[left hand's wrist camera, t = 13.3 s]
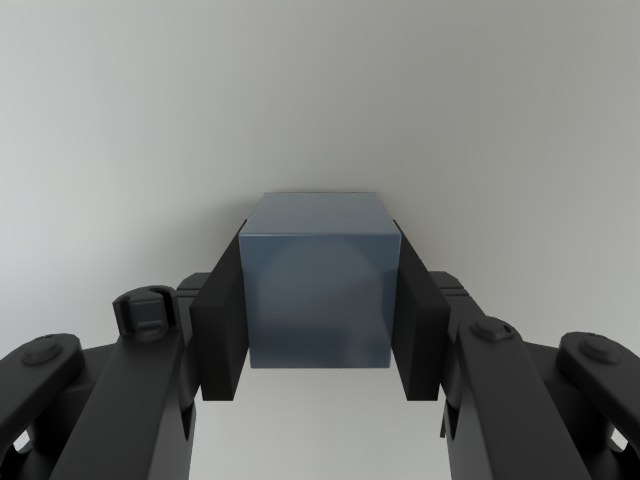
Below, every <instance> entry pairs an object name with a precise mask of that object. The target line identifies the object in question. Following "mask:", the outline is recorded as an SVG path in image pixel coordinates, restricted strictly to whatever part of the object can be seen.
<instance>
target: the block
mask: <svg viewBox="0 0 640 480" xmlns="http://www.w3.org/2000/svg"><path fill="white" fill-rule="evenodd" d="M400 245H401V233H400V231H399V229H398V228H397V226H396V225H395V223H394V221H393V220H392V218H391V217H390V215H389V213H388V212H387V210H386V209H385V207H384V205H383V204H382V202H381V200H380V199H379V197H378V196H377V194H376V193H264V194H263V196H262V197H261V199H260V201H259V202H258V204H257V206H256V207H255V209H254V210H253V212H252V214H251V215H250V217H249V218H248V220H247V222H246V223H245V225H244V226H243V228H242V230H241V231H240V233H239V246H240V257H241V267H242V276H243V287H244V299H245V310H246V321H247V332H248V343H249V356H250V366H251V368H390V361H391V349H392V336H393V324H394V313H395V301H396V290H397V278H398V267H399V256H400Z"/></svg>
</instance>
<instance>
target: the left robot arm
mask: <svg viewBox="0 0 640 480" xmlns="http://www.w3.org/2000/svg"><path fill="white" fill-rule="evenodd" d="M393 221H394V223H395V225H396V226H397V228H398V229H399V231H400V233H401V245H400V256H399V267H398V278H397V290H396V301H395V313H394V324H393V336H392V350H393V354H394V357H395V361H396V364H397V367H398V371H399V374H400V377H401V381H402V384H403V388H404V391H405V394H406V398H407V401H437V399H438V393H439V386H440V384H441V386H442V388H443V391H444V393H445V395H446V402H445V408H444V414H443V420H442V427H441V433H440V437H442V438H445V433H446V437H447V445H448V453H449V461H450V469H451V478H452V480H640V358H639V357H638V356H636V355H635V354H634V353H633V352H631V351H630V350H628V349H627V348H625V347H624V346H622V345H620V344H619V343H617V342H615V341H612V340H610V339H608V338H606V337H604V336H601V335H598V334H597V335H596V334H594V333H585V332H571V333H566V334H565V335H564V336H562V338H561V341H560V345H559V348H554V347H549V346H543V345H538V344H533V343H529V342H525V341H523V340H522V338H521V336H520V334H519V333H518V332H517V330H516V329H515V328H514V327H512V326H511V325H509V324H508V323H506V322H504V321H502V320H499V319H497V318H494V317H489V316H486V315H485V314H484V312H483V311H482V310H481V309H480V307H479V306H478V305H477V304H476V302H475V301H474V300H473V299H472V297H471V296H469V293H468V292H467V291H466V290H465V289H464V287H463V286H462V285H461V283H460V282H459V281H458V279H456V278H455V277H453V276H451V275H450V274H448V273H446V272H428V270H427V269H426V267H425V266H424V264H423V263H422V261H421V260H420V258H419V257H418V255H417V253H416V252H415V250H414V249H413V247H412V246H411V244H410V243H409V241H408V240H407V238H406V237H405V235H404V233H403V232H402V230H401V229H400V227H399V226H398V224H397V223H396V221H395V220H393ZM246 222H247V220H245V222H244V223H243V225H242V226H241V228H240V229H239V231H238V232H237V234H236V235H235V237H234V238H233V240H232V242H231V243H230V245H229V246H228V248H227V249H226V251H225V252H224V254H223V255H222V257H221V259H220V260H219V262H218V263H217V265H216V266H215V268H214V269H213V271H212V272H211V273H194V274H193V275H191V276H189V277H188V278H186V279H184V280H183V281H182V283H181V284H180V285H179V286H178V288H177V290H174V289H173V288H172V287H168V286H163V285H159V286H147V287H141V288H137V289H134V290H131V291H128V292H126V293H125V294H123V295H121V296H119V297H118V298H117V299H116V300H115V301H114V302H113V308H114V312H115V316H116V320H117V324H118V329H119V333H120V336H119V338H118V340H117V342H116V343H114V344H110V345H105V346H100V347H95V348H89V349H84V350H82V347H81V344H80V340H79V338H77V337H76V336H75V335H72V334H66V333H62V334H50V335H45V336H42V337H38V338H36V339H34V340H32V341H30V342H28V343H25V344H23V345H22V346H20V347H18V348H17V349H15V350H14V351H12V352H11V353H9V354H8V355H7V356H6V357H4V358H3V359H2V360H0V480H188V479H189V470H190V462H191V454H192V446H193V437H194V429H195V421H196V408H195V402H194V398H195V395H196V393H197V391H198V388H199V386H200V384H201V391H202V398H203V401H233V399H234V395H235V392H236V389H237V385H238V382H239V378H240V375H241V372H242V368H243V365H244V361H245V358H246V355H247V351H248V348H249V343H248V332H247V321H246V310H245V299H244V287H243V276H242V267H241V257H240V246H239V233H240V231H241V230H242V228H243V226H244V225H245V223H246ZM615 428H616V429H617V430H618V431H619V432H620V433H621V434H622V435H623V436H624V437H625V439H626V440H627V441H628V443H627V446H626V448H625V449H624V450H622V449H621V448H620V447H619V446H617V445H616V443H615V442H614V441H613V440H612V439H611V437H612V434H613V432H614V429H615ZM25 430H26V431H27V433H28V436H29V438H30V440H29V441H28V443H27V444H26V445H25V446H24V447H23V448H22V449H20V450H19V451H18V452H17V451H16V450H15V447H14V445H13V443H14V442H15V441H16V439H17V438H18V437H19V436H20V435H21V434H22V433H23V432H24V431H25Z"/></svg>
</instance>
